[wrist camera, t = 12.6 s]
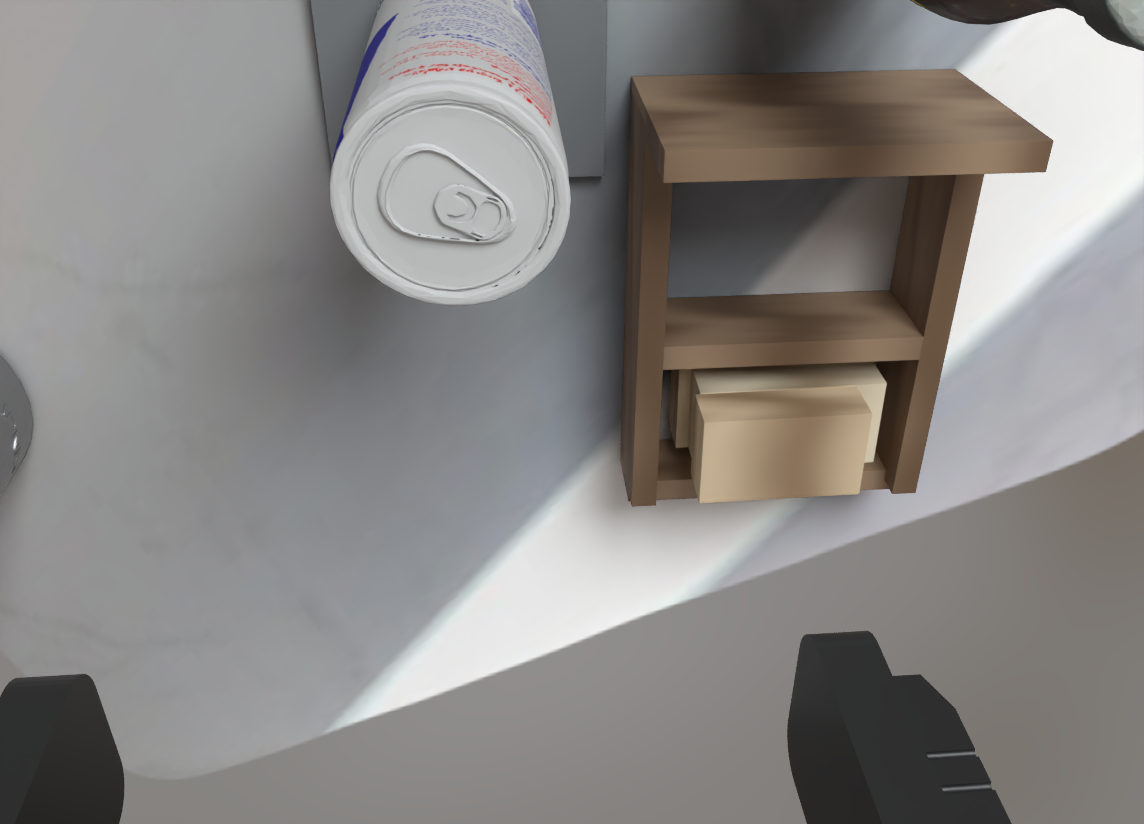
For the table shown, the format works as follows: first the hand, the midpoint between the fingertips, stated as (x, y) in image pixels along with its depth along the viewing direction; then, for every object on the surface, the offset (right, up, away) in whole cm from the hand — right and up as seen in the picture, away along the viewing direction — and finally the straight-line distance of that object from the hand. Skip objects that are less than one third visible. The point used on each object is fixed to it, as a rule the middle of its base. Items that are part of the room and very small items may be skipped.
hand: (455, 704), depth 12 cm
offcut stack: (+10, +5, +34) cm, 36 cm away
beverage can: (-3, +16, +25) cm, 30 cm away
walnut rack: (+9, +9, +32) cm, 34 cm away
